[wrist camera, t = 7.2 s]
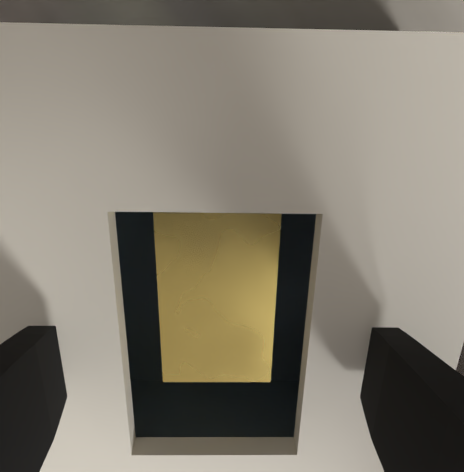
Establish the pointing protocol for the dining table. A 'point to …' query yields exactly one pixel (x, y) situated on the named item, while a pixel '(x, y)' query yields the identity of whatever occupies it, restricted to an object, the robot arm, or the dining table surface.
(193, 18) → the dining table surface
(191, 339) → the gold block
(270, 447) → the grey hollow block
